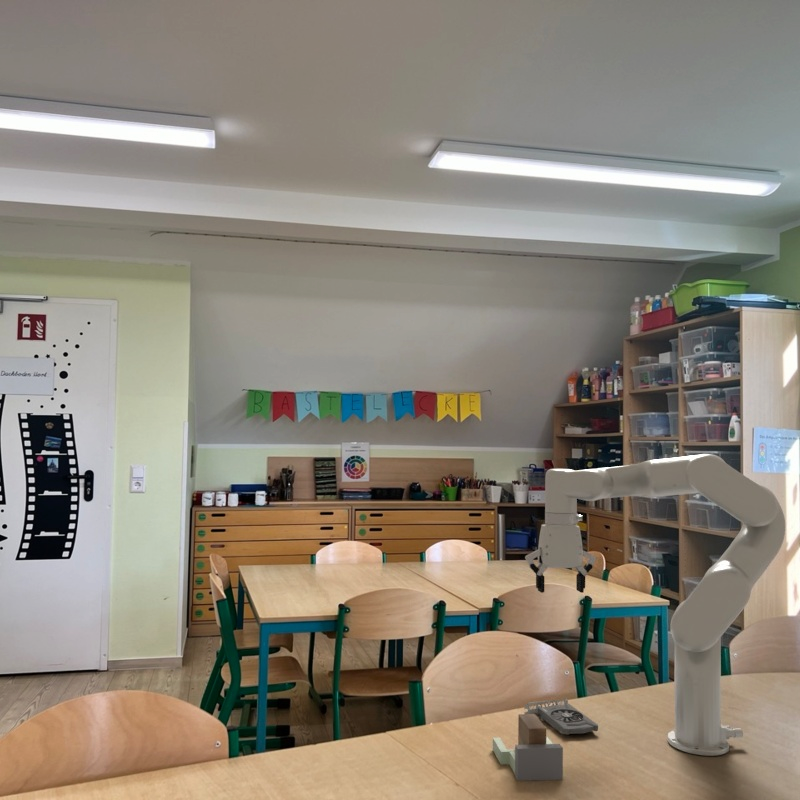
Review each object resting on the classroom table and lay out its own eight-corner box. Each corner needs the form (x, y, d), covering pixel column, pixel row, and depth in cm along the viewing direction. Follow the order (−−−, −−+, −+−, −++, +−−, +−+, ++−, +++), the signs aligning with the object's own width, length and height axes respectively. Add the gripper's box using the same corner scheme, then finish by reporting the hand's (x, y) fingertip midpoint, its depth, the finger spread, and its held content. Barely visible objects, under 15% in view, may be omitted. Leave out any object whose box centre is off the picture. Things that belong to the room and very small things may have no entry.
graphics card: (522, 701, 181) (567, 697, 184) (522, 717, 181) (567, 712, 184) (554, 727, 164) (602, 722, 168) (554, 745, 164) (602, 739, 167)
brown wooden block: (534, 758, 155) (534, 714, 155) (546, 775, 147) (546, 728, 147) (518, 758, 154) (518, 714, 155) (528, 775, 146) (529, 728, 147)
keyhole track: (547, 748, 160) (547, 719, 160) (570, 779, 145) (570, 747, 145) (492, 749, 159) (492, 720, 159) (510, 780, 144) (510, 749, 144)
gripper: (589, 518, 184) (589, 588, 183) (521, 518, 183) (521, 588, 181) (601, 521, 177) (601, 594, 176) (530, 521, 175) (529, 594, 174)
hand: (560, 591), depth 179 cm, fingers open, 9 cm apart
